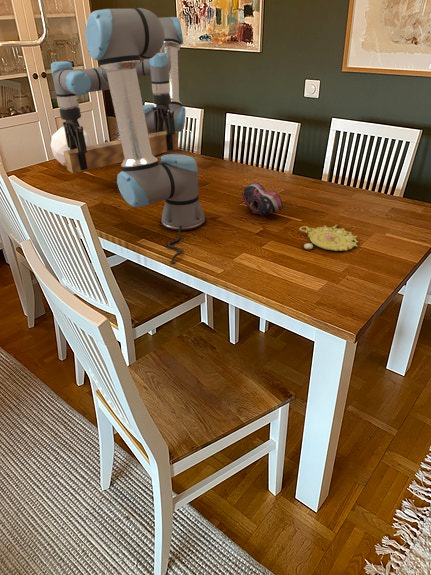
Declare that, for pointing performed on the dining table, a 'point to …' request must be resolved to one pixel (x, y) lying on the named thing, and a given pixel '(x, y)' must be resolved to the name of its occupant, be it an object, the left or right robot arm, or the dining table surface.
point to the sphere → (64, 144)
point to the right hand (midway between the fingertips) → (80, 167)
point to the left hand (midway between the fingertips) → (166, 148)
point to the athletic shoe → (261, 200)
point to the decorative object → (330, 238)
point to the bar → (114, 152)
